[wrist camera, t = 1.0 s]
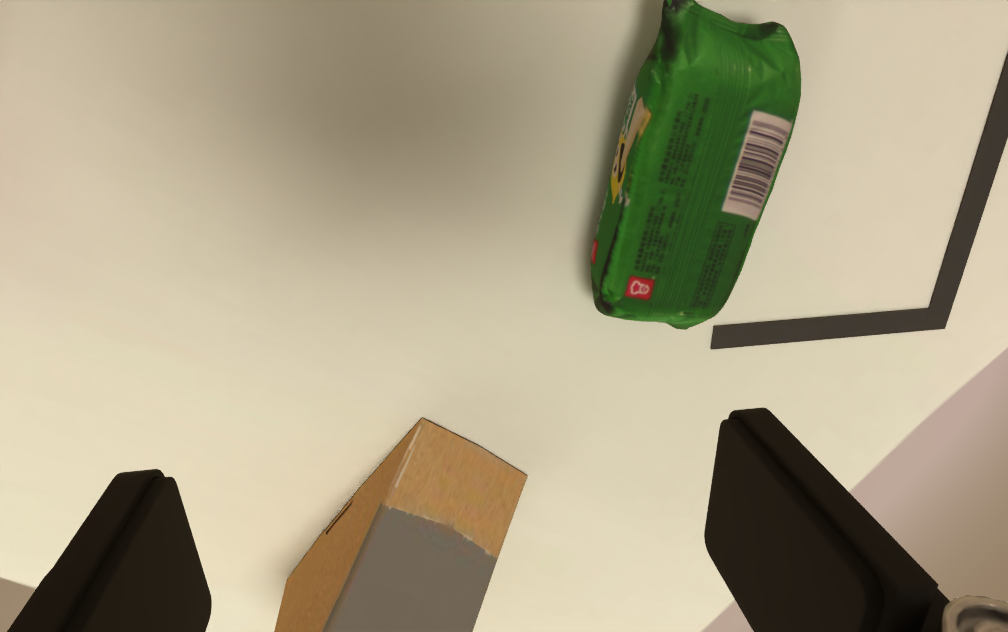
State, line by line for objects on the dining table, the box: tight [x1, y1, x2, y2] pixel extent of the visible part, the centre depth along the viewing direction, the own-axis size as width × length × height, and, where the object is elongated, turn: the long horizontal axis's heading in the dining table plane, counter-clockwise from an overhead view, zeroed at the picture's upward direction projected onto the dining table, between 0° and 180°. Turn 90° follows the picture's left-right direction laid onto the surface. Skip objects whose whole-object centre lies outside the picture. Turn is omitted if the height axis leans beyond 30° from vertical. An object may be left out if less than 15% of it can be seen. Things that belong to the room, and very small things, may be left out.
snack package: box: [591, 0, 801, 330], centre depth 29 cm, size 7×16×5 cm, turn 170°
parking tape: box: [711, 54, 1008, 349], centre depth 33 cm, size 22×15×1 cm
